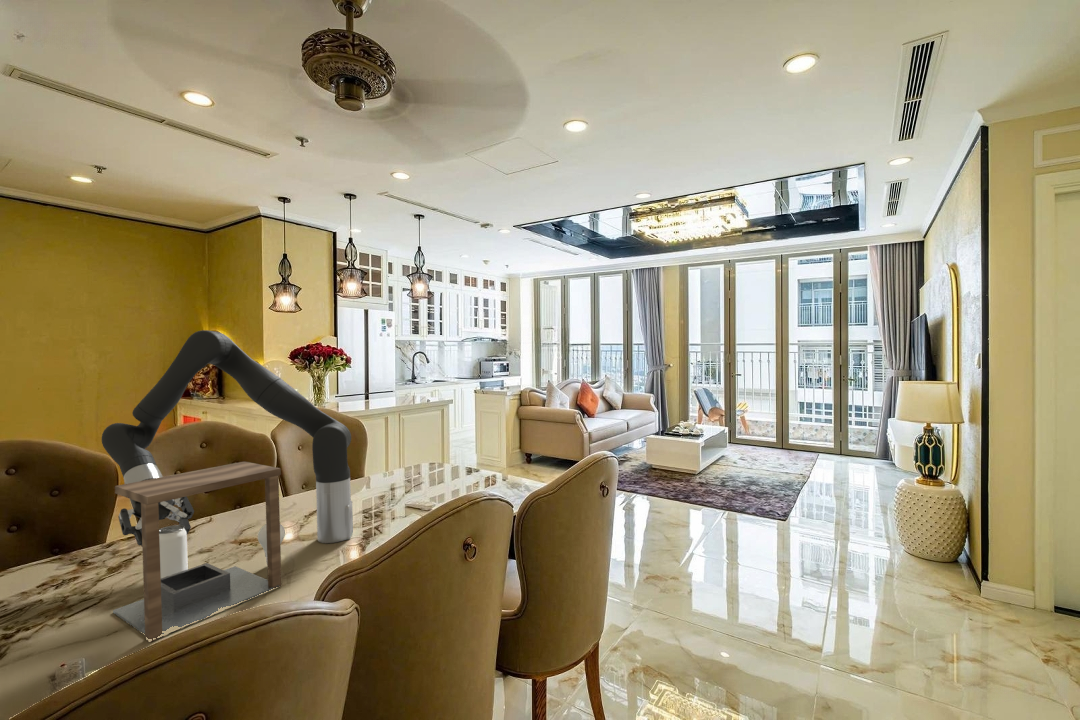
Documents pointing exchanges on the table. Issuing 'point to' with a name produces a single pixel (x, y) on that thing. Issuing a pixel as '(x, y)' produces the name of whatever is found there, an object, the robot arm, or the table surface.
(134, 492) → the wooden arch stand
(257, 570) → the table surface
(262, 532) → the lightbulb
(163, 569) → the can
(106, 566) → the table surface
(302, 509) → the table surface
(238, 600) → the socket
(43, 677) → the table surface
